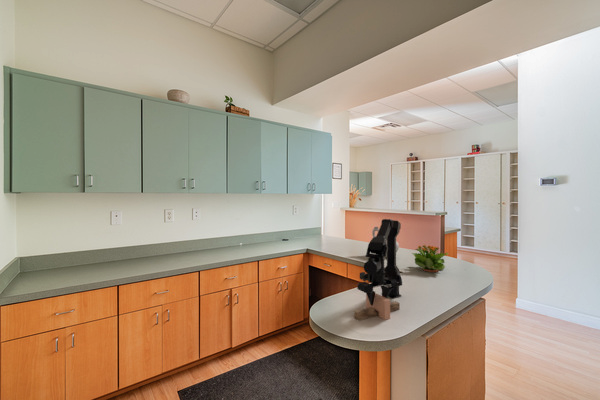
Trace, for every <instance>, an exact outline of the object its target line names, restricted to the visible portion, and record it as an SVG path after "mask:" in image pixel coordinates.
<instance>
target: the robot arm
mask: <svg viewBox="0 0 600 400" xmlns="http://www.w3.org/2000/svg"><path fill="white" fill-rule="evenodd" d="M401 224H402V223H401V222H400V221H399V220H397V219H396V220H395V219H394V220H393V219H389V218H383V219H381V224H380V227H379V228H378V229H379V231H377V233H376V235H375V236H376V237H374V238H373V237H372V238H371V239H370V241H369V242H368V245H367V248H366V255H365V257H367V260H366V261H365V262H364V265H363V270H364V271H362V272H359V279H360V280H361V282H358V283H357V288H356V289H357V290H359V291H360V292H362V293H365V295H366V294H367V296H368V299H369V301H370V304H371V305H373V303H374V298H375V293H376V291H374V288H379V287H380V288H381V296H383V297H385V298H387V299H388V297H389V298H391V299H395V298H399V297H402V294H400V287H401V286H403V280H402V275H401V274H400V269H399V267H398V266H397V252H396V241H397V237H398V235H399V234H400V230H401V228H402V227H401V226H402V225H401ZM386 240H387V244H386ZM386 255H387V257H386ZM385 258H386V266H385ZM366 281H367V282H366Z"/></svg>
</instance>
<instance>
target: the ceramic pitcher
mask: <svg viewBox="0 0 600 400" xmlns="http://www.w3.org/2000/svg"><path fill="white" fill-rule="evenodd" d="M379 229H380V228H379V227H378V226H374V227H373V229H372V232H371V233H372V238H374V237H376V236H377V235H376V232H378V231H379ZM386 244H387V240H386ZM399 249H400V244H399V242H398V240H396V253H397V252H398V251H399ZM385 258H387V255H386V257H385Z"/></svg>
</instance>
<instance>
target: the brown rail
mask: <svg viewBox="0 0 600 400" xmlns="http://www.w3.org/2000/svg"><path fill="white" fill-rule="evenodd" d="M398 310H400V302H398V301H397V300H395V301H390V313H392V312H394V311H398ZM376 316H379V312H378V311H376V310H375V309H374V308H372V307H370V308H361V309H357V310H355V311H354V316H353V317H354V319H355V320H356V321H361V320H365V319H369V318H373V317H376Z"/></svg>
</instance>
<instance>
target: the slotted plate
mask: <svg viewBox="0 0 600 400" xmlns="http://www.w3.org/2000/svg"><path fill="white" fill-rule="evenodd" d="M365 301H366V302H365V304H366V305H365V307H366V308H370V307H372V308H374V309H375V310H376V311H378V312H379V315H378V317H379V318H381V319H383V320H388V319H391V312H390V302H391V299H389V298H388V297H387V298H385V297H383V296H382V294H379V293H377V292H375V298H374V303H373V305H371V304H370V301H369V299H368V296H367V294H366V293H365ZM366 308H365V309H366Z"/></svg>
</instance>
